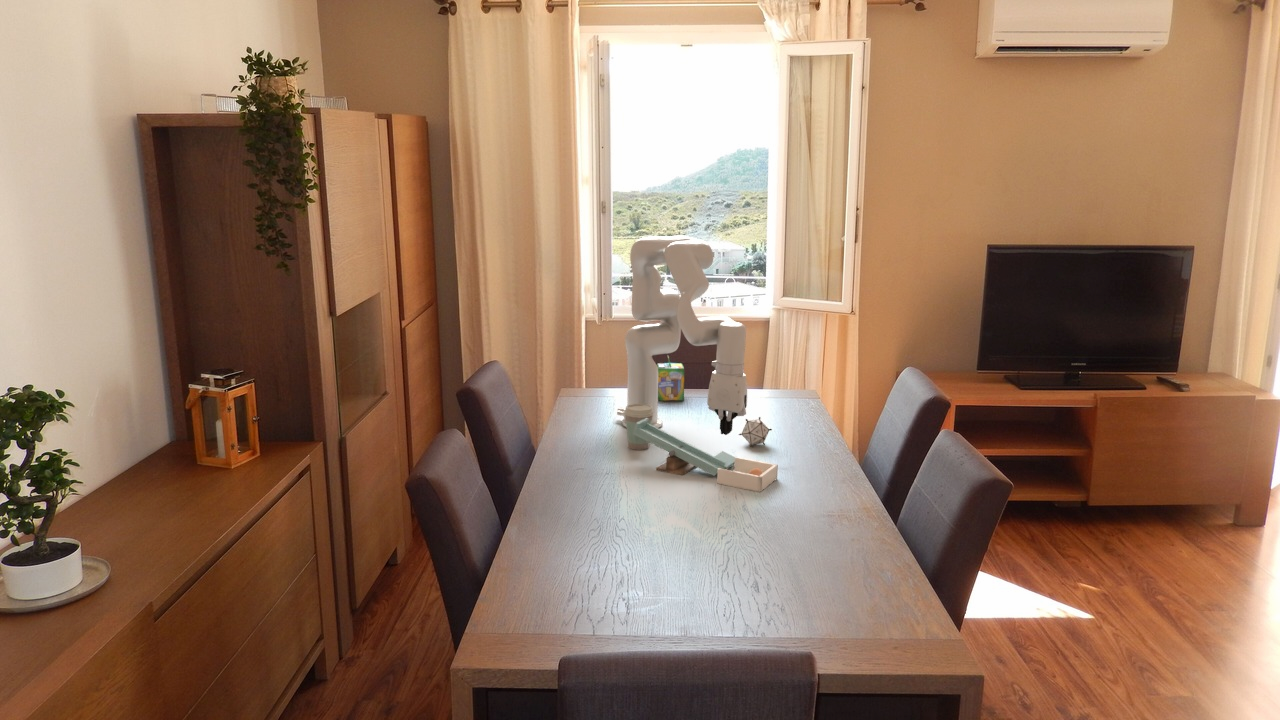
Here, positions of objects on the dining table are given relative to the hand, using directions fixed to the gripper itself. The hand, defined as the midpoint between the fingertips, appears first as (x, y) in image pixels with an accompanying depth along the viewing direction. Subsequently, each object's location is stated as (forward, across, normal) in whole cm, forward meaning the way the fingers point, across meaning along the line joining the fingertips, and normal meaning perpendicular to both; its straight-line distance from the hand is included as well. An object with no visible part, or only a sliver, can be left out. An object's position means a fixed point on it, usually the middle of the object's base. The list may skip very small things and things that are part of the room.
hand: (725, 433), depth 258 cm
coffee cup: (+10, -28, +1) cm, 29 cm away
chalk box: (+12, -46, +55) cm, 72 cm away
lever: (+5, -10, -6) cm, 12 cm away
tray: (+9, +11, -9) cm, 17 cm away
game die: (+10, 0, +21) cm, 23 cm away
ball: (+6, +13, -9) cm, 17 cm away
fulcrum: (+9, -10, -9) cm, 16 cm away
